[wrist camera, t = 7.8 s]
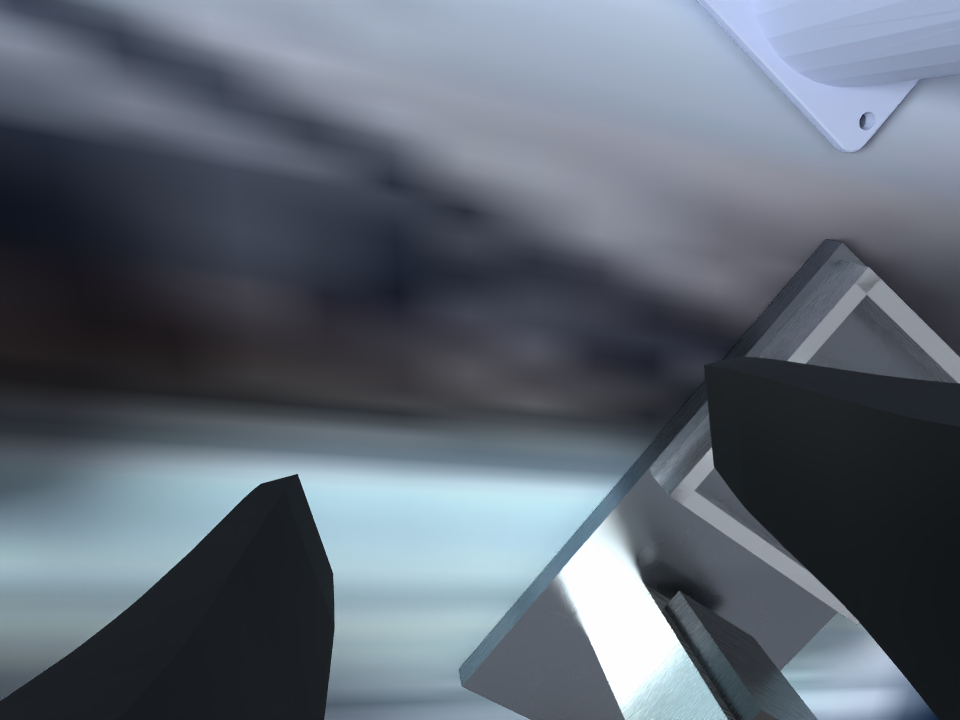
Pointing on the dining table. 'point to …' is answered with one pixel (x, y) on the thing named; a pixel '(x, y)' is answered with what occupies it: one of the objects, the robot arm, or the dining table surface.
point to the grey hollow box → (698, 547)
